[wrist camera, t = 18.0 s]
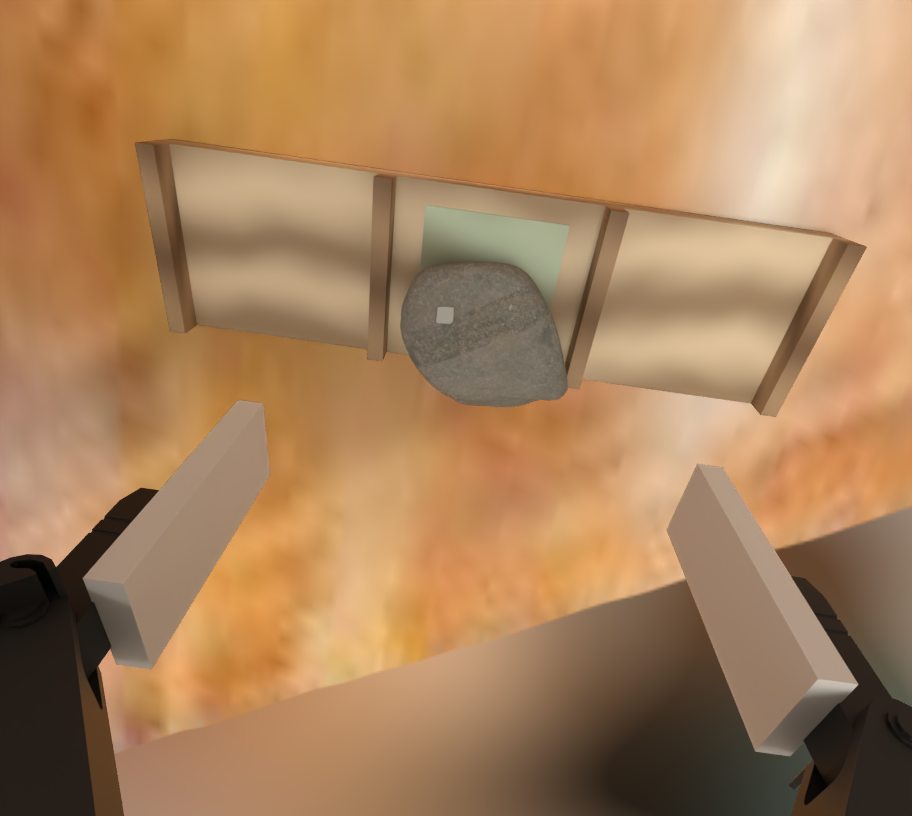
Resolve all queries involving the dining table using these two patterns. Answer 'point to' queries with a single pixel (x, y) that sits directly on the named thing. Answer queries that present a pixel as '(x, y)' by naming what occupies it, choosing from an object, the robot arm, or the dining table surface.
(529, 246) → the ledge
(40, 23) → the dining table surface
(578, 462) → the dining table surface
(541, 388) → the stone
